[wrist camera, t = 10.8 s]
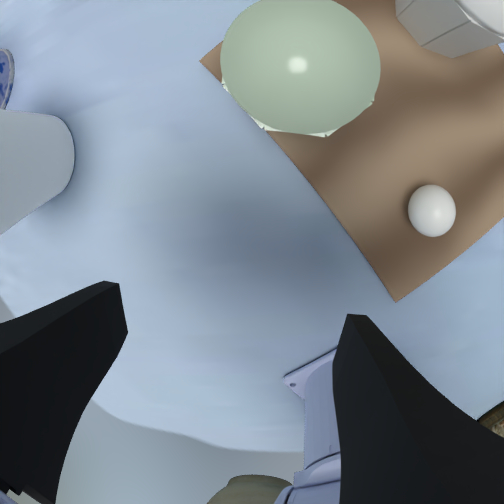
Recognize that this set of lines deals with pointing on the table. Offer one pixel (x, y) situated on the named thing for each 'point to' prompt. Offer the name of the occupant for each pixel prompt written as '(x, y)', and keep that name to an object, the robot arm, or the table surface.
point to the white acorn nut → (453, 24)
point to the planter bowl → (250, 490)
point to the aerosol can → (5, 76)
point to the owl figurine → (494, 419)
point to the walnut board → (409, 151)
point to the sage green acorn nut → (300, 65)
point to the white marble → (431, 210)
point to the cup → (31, 163)
